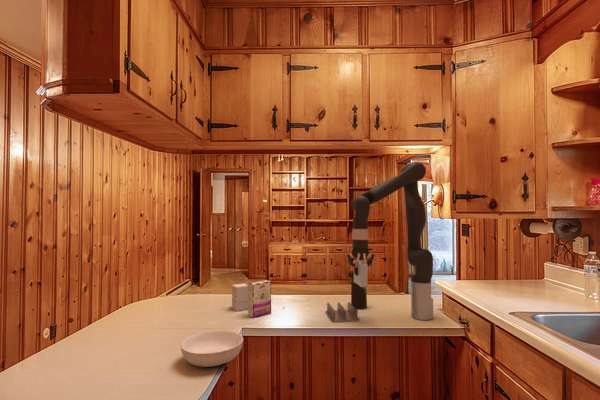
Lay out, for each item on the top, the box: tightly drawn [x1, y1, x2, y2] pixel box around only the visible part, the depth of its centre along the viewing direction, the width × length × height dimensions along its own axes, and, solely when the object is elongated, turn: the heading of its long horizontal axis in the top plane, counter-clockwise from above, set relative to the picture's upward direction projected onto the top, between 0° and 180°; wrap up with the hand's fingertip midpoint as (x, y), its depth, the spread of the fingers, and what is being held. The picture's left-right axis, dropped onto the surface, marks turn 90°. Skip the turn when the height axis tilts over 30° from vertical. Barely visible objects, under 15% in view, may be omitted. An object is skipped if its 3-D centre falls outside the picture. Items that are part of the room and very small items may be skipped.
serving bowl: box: [180, 329, 244, 368], centre depth 119 cm, size 21×21×7 cm
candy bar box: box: [247, 279, 272, 319], centre depth 171 cm, size 11×5×16 cm, turn 132°
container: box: [349, 269, 368, 310], centre depth 184 cm, size 9×9×20 cm
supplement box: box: [231, 283, 248, 312], centre depth 182 cm, size 7×7×13 cm
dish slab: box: [354, 260, 369, 288], centre depth 161 cm, size 3×12×10 cm, turn 7°
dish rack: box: [325, 301, 360, 323], centre depth 168 cm, size 13×16×5 cm
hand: (360, 275), depth 161 cm, fingers closed on dish slab, 3 cm apart
